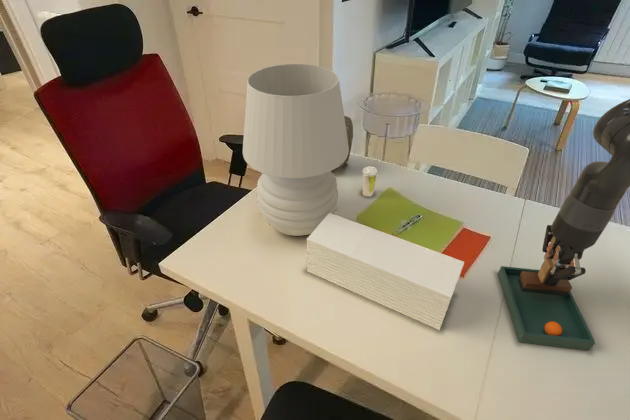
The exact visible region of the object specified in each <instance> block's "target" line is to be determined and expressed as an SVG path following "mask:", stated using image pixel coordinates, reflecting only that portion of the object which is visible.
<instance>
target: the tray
mask: <svg viewBox="0 0 630 420" xmlns="http://www.w3.org/2000/svg"><path fill="white" fill-rule="evenodd" d="M539 270H540V269H534V268H524V267H515V266H504V265H501V266H500V268H499V270H498V272H497V276H498V280H499V283H500V287H501V290H502V292H503V293H502V294H503V296H504V299H505V302H506V306H507V308H508V309H507V310H508V312H509V315H510V319H511V321H512V325H513V328H514V331H515V334H516V335H515V336H516V338H517V341H518V343H523V344H533V345H540V346H548V347H556V348H564V349H572V350H579V351H587V352H589V351H591V349H592V348H593V347H594V346H595V344H596V341H595V338H594V337H593V335H592V332H591V331H590V328H589V326H588V325H587V322H586V320H585V318H584V316H583V314H582V312H581V310H580V308H579V306H578V304H577V302H576V300H575V298H574V296H573V293H572V292H571V291H570V292H568V294H567V295H566V296H560V295H550V294H540V293H530V292H522V291H521V288H520V285H519V283H518V279H519V277H520V274H521V272H522V271H527V272H537V273H538V272H539ZM550 321H554V322H557V323H558V324H560V326H561V327H562V334H561V335H560V336H553V335H548V334H547V333H546V332H545V325H546V323H548V322H550Z"/></svg>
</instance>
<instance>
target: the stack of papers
mask: <svg viewBox="0 0 630 420" xmlns="http://www.w3.org/2000/svg"><path fill="white" fill-rule="evenodd" d="M306 265H307V266H306V270H307V272H308V273H310V274H313V275H314V276H316V277H319V278H322V279H324V280H326V281H328V282H330V283H332V284H335V285H337V286H339V287H340V288H341V287H342V288H344V289H346V290H349V292H350V291H351V292H353V293H354V294H357V295H360V296H362V297H364V298H366V299H368V300H371V301H373V302H375V303H377V304H379V305H382V306H384V307H386V308H389V309H391V310H393V311H395V312H397V313H400V314H402V315H404V316H406V317H409V318H411V319H413V320H415V321H417V322H420V323H422V324H424V325H426V326H429V327H431V328H433V329H436V330H438V331H440V330H441V328H442V325H443V322H444V319H445V317H446V314H447V311H448V308H449V306H450V303H451V301H452V298H453V295H454V293H455V290H456V287H457V284H458V281H459V279H460V276H461V273H462V270H463V269H464V265H465V261H464V260H460V259H458V258H455V257H452V256H450V255H447V254H444V253H441V252H439V251H437V250H433V249H430V248H428V247H425V246H423V245H419V244H417V243H414V242H411V241H409V240H406V239H403V238H400V237H398V236H395V235H392V234H389V233H387V232H384V231H381V230H378V229H375V228H374V227H373V228H372V227H370V226H367V225H364V224H362V223H359V222H356V221H354V220H351V219H348V218H345V217H343V216H340V215H337V214H335V213H333V214H332V213H329V214H328V215H327V216H326V217H325V218H324V220H323V221H322V222H321V223H320V224H319V225H318V226H317V228H316V229H315V230H314V231H313V232H312V233H311V234H309V236H307V237H306Z"/></svg>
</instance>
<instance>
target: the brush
mask: <svg viewBox="0 0 630 420" xmlns="http://www.w3.org/2000/svg"><path fill="white" fill-rule="evenodd" d="M552 260H553V259H550V258H546V259H545V260H544V261H543V262H544V263H542V264H543V265H542V264H541V266H542V267H541V266H540V268H541V269H540V268H539V269H538V270H539V272H538V273H537V272H527V271H522V272H521V274H520V277H519V279H518V283H519V285H520V288H521V291H522V292H530V293H540V294H550V295H560V296H566V295H567V294H568V292H571V291H572V289H573V286H572V285H571V283H570V280H561V279H560V280H559V282H558V283H557V285H556V286H546V285H545V284H544V280H545V279H546V277H547V275H548V274H549V272H550V270H551V268H552V266H553V263H552ZM558 269H562V267H559V268H558Z"/></svg>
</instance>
